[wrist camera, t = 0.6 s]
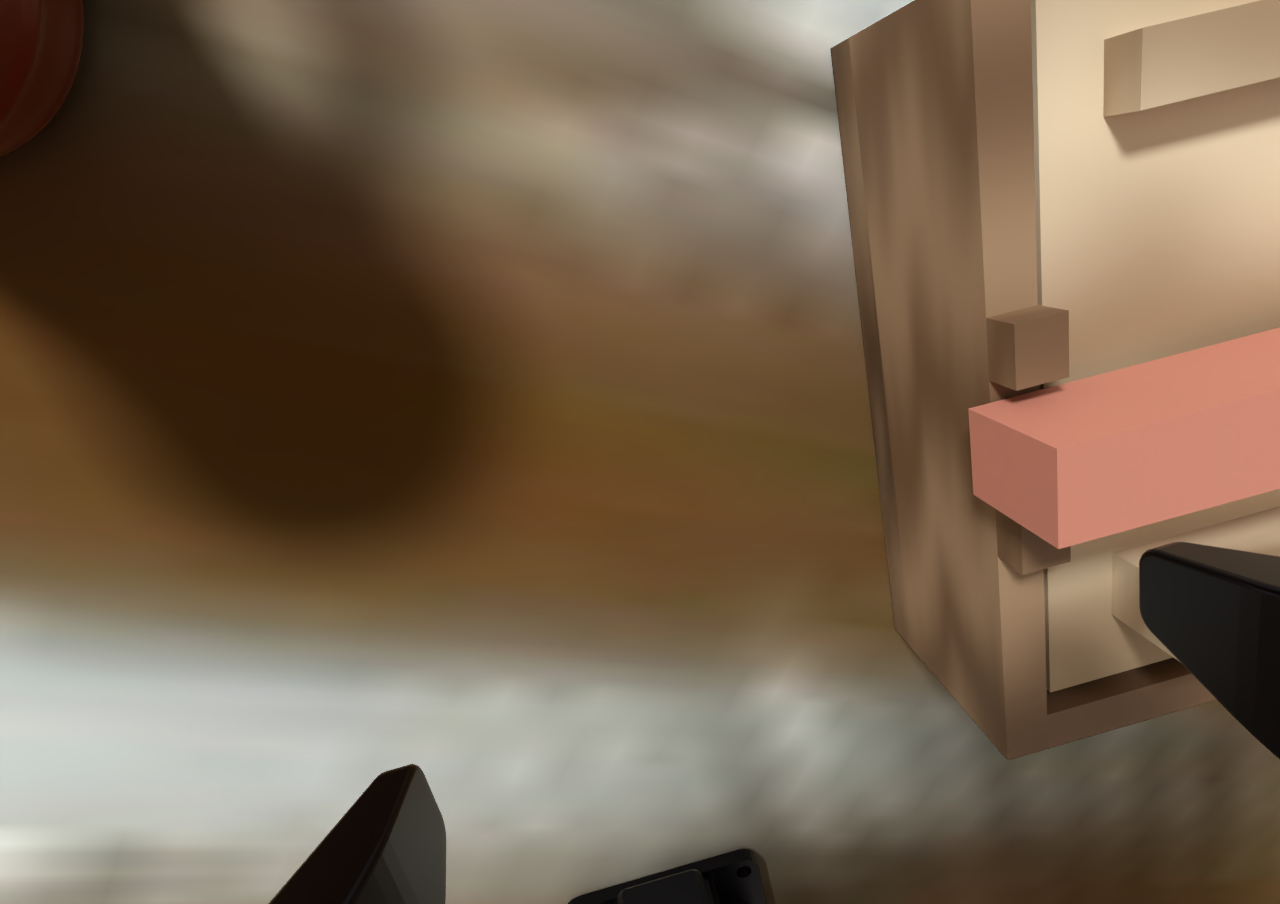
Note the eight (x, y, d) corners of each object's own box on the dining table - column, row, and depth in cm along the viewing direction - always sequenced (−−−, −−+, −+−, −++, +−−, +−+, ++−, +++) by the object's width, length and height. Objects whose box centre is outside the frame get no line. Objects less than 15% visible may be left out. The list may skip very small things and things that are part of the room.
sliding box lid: (1307, 592, 17) (1468, 671, 14) (1027, 671, 17) (1132, 770, 14) (1394, -82, 12) (1665, -175, 9) (1005, 7, 12) (1158, -62, 9)
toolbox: (1196, 545, 22) (1438, 667, 16) (894, 628, 21) (1030, 786, 16) (1233, -44, 17) (1620, -188, 11) (830, 48, 16) (1000, -50, 10)
